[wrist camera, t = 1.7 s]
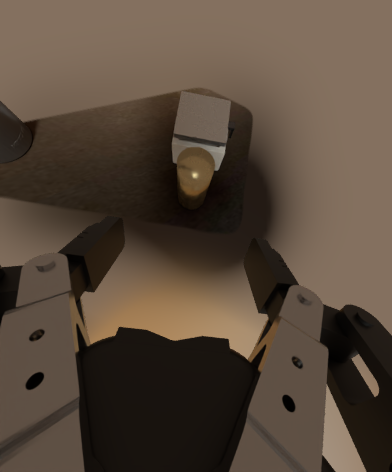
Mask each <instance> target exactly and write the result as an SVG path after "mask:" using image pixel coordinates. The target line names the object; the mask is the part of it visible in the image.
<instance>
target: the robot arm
mask: <svg viewBox="0 0 392 472" xmlns="http://www.w3.org/2000/svg"><path fill="white" fill-rule="evenodd" d="M31 142H32V134H31V131H30V129H29V128H28V127H27V126H26V125H25V124H24V123H23V122H22V121H21V120H20V119H19V118H18V117H17V116H16V115H15V114H13V113H12V112H11V111H10V110H9V109H8V108H7V107H6V106H5V105H4V104H3V103H2V102H1V101H0V163H4V162H10V161H13V160H16V159H17V158H19V157H21V156H22V155H23V154H25V153H26V151H27V150H28V149H29V147H30V145H31ZM124 244H125V236H124V226H123V220H122V218H118V217H112V216H107V217H106V218H105V219H103V220H102V221H101V222H100V223H96V224H94V225H92V226H89V227H87V228H86V229H85V230H84V231H83V232H82V233H80V234H79V235H78V236H77V238H75V239H73V240H72V241H71V242H70V243H69V244H67V245H66V246H65V247H64V248H63V249H61V250H60V251H59V252H58V253H49V254H44V255H40V256H37V257H35V258H33V259H31V260H29V261H28V262H27V263H25V265H24V266H12V267H1V266H0V472H335V471H334V469H333V468H332V467H331V465H330V464H329V463H328V461H327V460H326V459H325V458H324V456H323V455H322V448H323V432H324V416H325V400H326V384H327V385H328V387H329V389H330V392H331V394H332V396H333V398H334V400H335V403H336V405H337V407H338V409H339V411H340V414H341V416H342V418H343V420H344V423H345V425H346V427H347V429H348V431H349V434H350V436H351V438H352V440H353V442H354V445H355V447H356V449H357V451H358V454H359V456H360V458H361V460H362V462H363V465H364V467H365V469H366V471H367V472H392V336H391V334H390V333H389V332H388V331H387V330H386V329H385V328H384V327H383V325H382V324H381V323H380V322H379V321H378V320H377V319H376V318H375V317H374V316H372V315H371V314H370V313H368V312H367V311H365V310H364V309H362V308H360V307H357V306H354V305H345V306H344V307H343V308H342V309H341V310H337V309H334V308H331V307H329V306H326V305H324V304H323V303H322V301H321V300H320V298H319V297H318V296H317V295H316V294H315V293H314V292H312V291H311V290H309V289H307V288H305V287H303V286H300V285H299V284H298V282H297V281H296V279H295V277H294V276H293V274H292V273H291V271H290V270H289V268H288V267H287V265H286V263H285V262H284V260H283V258H282V257H281V255H280V254H279V253H277V252H276V251H275V250H274V249H272V248H271V246H270V245H269V243H268V241H266V240H264V239H257V238H253V239H252V241H251V243H250V246H249V248H248V251H247V253H246V255H245V258H244V268H245V271H246V274H247V277H248V281H249V284H250V287H251V290H252V293H253V297H254V300H255V303H256V306H257V309H258V313H262V314H267V315H268V320H267V321H266V323H265V325H264V327H263V330H262V332H261V334H260V336H259V339H258V341H257V343H256V346H255V347H254V350H253V352H252V353H251V355H250V357H249V358H248V360H247V359H246V358H245V357H244V356H242V355H241V354H239V353H238V352H236V351H234V350H232V349H230V347H229V340H228V339H224V338H215V337H206V336H201V337H195V338H189V339H183V340H178V341H173V340H170V339H167V338H165V337H163V336H160V335H158V334H155V333H153V332H150V331H148V330H142V329H134V328H123V327H119V328H118V331H117V333H116V335H115V336H112V337H108V338H105V339H102V340H100V341H97V342H95V343H93V344H90V340H89V336H88V333H87V327H86V321H85V316H84V310H83V304H82V299H81V295H82V294H83V292H84V291H87V292H95V290H96V289H97V287H98V286H99V284H100V283H101V281H102V280H103V278H104V277H105V275H106V274H107V272H108V271H109V269H110V268H111V266H112V265H113V263H114V262H115V260H116V259H117V257H118V255H119V254H120V253H121V251H122V249H123V247H124ZM358 354H359V355H360V356H361V358H362V359H363V361H364V362H365V364H366V365H367V367H368V368H369V370H370V372H371V373H372V374H373V376H374V378H375V379H376V381H377V383H378V386H379V394H378V396H376V397H374V395H373V394H372V392H371V390H370V389H369V387H368V385H367V384H366V382H365V381H364V379H363V377H362V376H361V374H360V372H359V371H358V369H357V367H356V366H355V364H354V363H353V361H352V359H351V358H353V357H355V356H356V355H358Z"/></svg>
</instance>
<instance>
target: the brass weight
mask: <svg viewBox="0 0 392 472" xmlns="http://www.w3.org/2000/svg"><path fill="white" fill-rule="evenodd" d="M214 170H215V161H214V158H213V156H212V155H211V154H210V153H209V152H208V151H207V150H205V149H203V148H200V147H190V148H187V149H185V150H183V151H182V152H181V153H180V154H179V156H178V159H177V184H178V201H179V203H180V204H181V205H182V206H183V207H184V208H186V209H190V210H193V209H197V208H199V207H200V206H201V205H202V204H203V202H204V199H205V196H206V193H207V190H208V187H209V184H210V181H211V178H212V175H213V172H214Z"/></svg>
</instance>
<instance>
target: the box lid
mask: <svg viewBox="0 0 392 472" xmlns="http://www.w3.org/2000/svg"><path fill="white" fill-rule="evenodd" d="M230 104H231V101H228V100H223V99H219V98H214V97H209V96H204V95H199V94H195V93H190V92H185V91H181V96H180V101H179V107H178V112H177V117H176V122H175V127H174V133H173V135H174V137H175V138H180V139H185V140H191V141H196V142H199V143H206V144H212V145H217V146H222V147H225V145H226V140H227V131H228V129H229V130H230V133H229V136H228V138H231V135H232V133H233V130H234V129H235V122H230V121H229V113H230Z"/></svg>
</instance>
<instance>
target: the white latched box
mask: <svg viewBox="0 0 392 472" xmlns="http://www.w3.org/2000/svg"><path fill="white" fill-rule="evenodd" d="M227 135H228V131H227ZM226 142H227V140H226ZM225 146H226V145H225ZM190 147H200V148H203V149H205V150H207V151H208V152H209V153H210V154H211V155H212V156H213V158H214V161H215V170H216V171H218V169H219V167H220V164H221V162H222V159H223V157H224V154H225V147H222V146H217V145H212V144H206V143H199V142H196V141H191V140H185V139H180V138H175V137H174V135H173V140H172V155H173V163H177V159H178V156H179V154H180V153H181V152H182V151H183V150H185V149H187V148H190Z"/></svg>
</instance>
